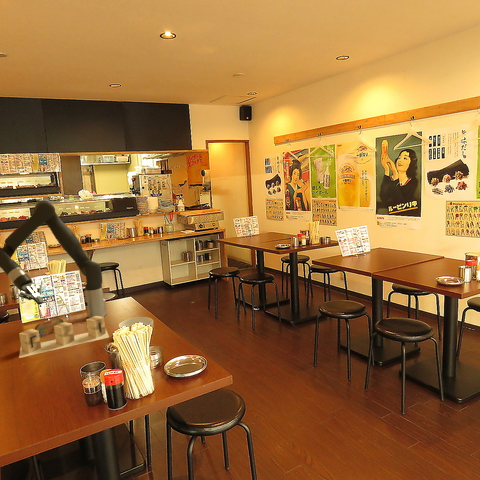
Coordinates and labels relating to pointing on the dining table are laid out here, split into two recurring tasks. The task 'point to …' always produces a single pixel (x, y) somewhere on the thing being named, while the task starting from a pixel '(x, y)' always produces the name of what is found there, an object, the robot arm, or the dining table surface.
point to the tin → (48, 327)
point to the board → (53, 346)
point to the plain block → (64, 333)
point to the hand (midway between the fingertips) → (41, 303)
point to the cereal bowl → (134, 320)
